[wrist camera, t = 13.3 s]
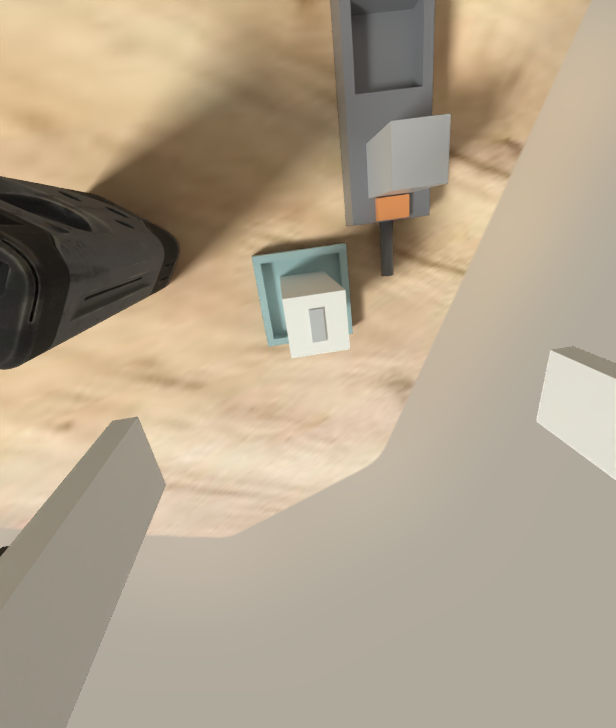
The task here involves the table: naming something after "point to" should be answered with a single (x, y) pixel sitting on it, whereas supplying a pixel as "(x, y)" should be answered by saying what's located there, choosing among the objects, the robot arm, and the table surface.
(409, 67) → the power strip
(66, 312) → the electronic device
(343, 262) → the tray
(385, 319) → the table surface
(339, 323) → the charger
